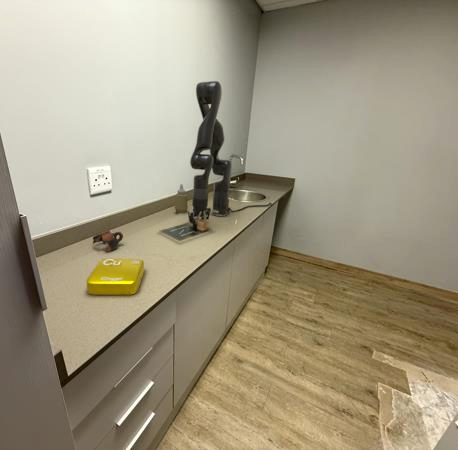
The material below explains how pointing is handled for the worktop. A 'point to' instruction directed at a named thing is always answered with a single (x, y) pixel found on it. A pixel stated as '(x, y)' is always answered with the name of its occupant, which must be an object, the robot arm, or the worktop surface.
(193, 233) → the chalkboard
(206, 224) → the eraser
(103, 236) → the brown teapot
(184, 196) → the squeeze bottle
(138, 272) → the element tile
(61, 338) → the worktop surface
